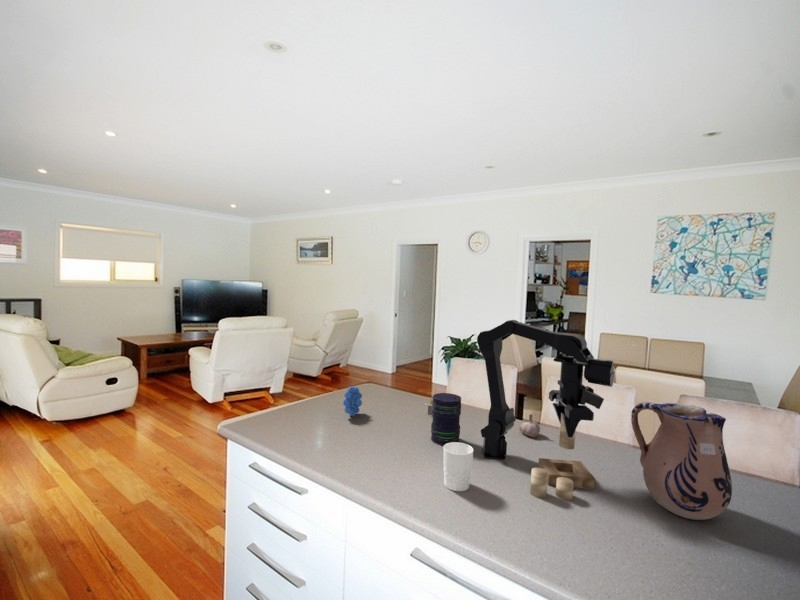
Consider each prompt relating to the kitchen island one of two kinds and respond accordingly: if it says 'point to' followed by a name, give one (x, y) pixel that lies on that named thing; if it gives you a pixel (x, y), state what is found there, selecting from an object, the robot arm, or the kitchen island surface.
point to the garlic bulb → (530, 427)
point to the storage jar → (445, 418)
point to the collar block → (567, 472)
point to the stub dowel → (564, 488)
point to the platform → (429, 407)
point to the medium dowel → (539, 482)
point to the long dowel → (565, 437)
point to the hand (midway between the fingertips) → (567, 434)
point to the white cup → (457, 466)
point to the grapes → (352, 400)
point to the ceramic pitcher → (685, 460)
